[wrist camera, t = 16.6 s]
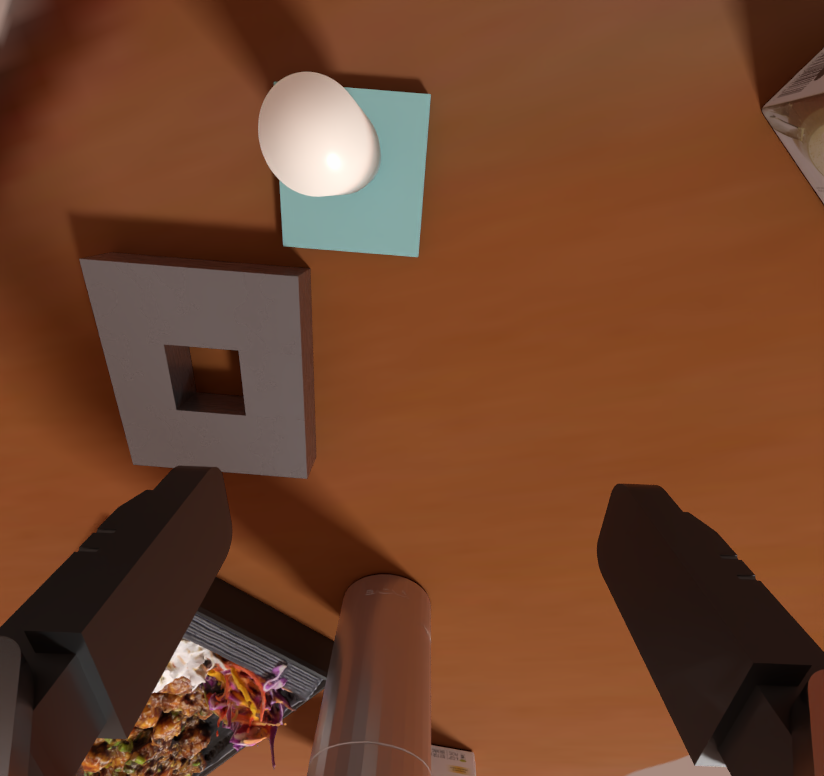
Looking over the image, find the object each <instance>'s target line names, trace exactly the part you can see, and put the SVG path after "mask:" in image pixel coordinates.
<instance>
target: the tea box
mask: <svg viewBox="0 0 824 776" xmlns="http://www.w3.org/2000/svg"><path fill="white" fill-rule="evenodd" d="M431 776H476V769H475V759H474V753H473V752H468V751H463V750H457V749H452V748H446V747H440V746H435V745H431Z"/></svg>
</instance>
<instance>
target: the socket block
mask: <svg viewBox="0 0 824 776" xmlns="http://www.w3.org/2000/svg"><path fill="white" fill-rule="evenodd" d="M79 260H80V264H81V268H82V271H83V275H84V279H85V283H86V287H87V290H88V294H89V298H90V302H91V306H92V309H93V313H94V317H95V321H96V325H97V328H98V332H99V336H100V340H101V344H102V347H103V351H104V355H105V359H106V363H107V366H108V370H109V374H110V378H111V382H112V385H113V389H114V393H115V397H116V401H117V404H118V408H119V412H120V416H121V420H122V423H123V427H124V431H125V435H126V439H127V442H128V446H129V450H130V454H131V458H132V461H133V465H144V466H157V467H169V468H175V467H176V466H206V467H218V468H219V469H220V470H221V472H231V473H243V474H255V475H268V476H280V477H292V478H305V479H307V478H308V476H309V473H310V471H311V468H312V466H313V464H314V461H315V459H316V435H315V403H314V372H313V340H312V309H311V278H310V268H299V267H287V266H274V265H262V264H250V263H237V262H225V261H212V260H200V259H188V258H175V257H163V256H151V255H138V254H126V253H114V252H110V253H105V254H101V255H96V256H91V257H86V258H81V259H79ZM189 347H201V348H214V349H226V350H238V351H239V360H240V369H241V377H242V386H243V395H244V396H235V395H222V394H210V393H198V392H196V386H195V380H194V374H193V368H192V363H191V357H190V351H189Z"/></svg>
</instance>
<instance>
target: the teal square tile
mask: <svg viewBox="0 0 824 776" xmlns="http://www.w3.org/2000/svg"><path fill="white" fill-rule="evenodd" d="M276 83H277V82H274V85H275V84H276ZM343 88H344V89H345V90H346V91H347V92H348V93H349V94H350V95H351V97H352V98H353V99H354V100H355V102H356V103H357V104H358V106H359V107H360V108H361V109H362V111H363V112H364V113H365V115H366V116H367V117H368V118H369V120H370V121H371V123H372V124H373V126H374V128H375V130H376V133H377V135H378V139H379V144H380V149H381V164H380V168H379V171H378V173H377V175H376V176H375V178H374V179H373V180H372V181H371V182H370V183H369V184H367V185H366V186H365V187H364V188H362V189H361V190H359V191H357V192H355V193H351V194H346V195H334V196H321V197H314V196H307V195H303V194H300V193H298V192H296V191H294V190H292V189H290V188H289V187H287V186H286V185H285V184H283V183H282V182H281V181H280V180H279V183H280V200H281V218H282V235H283V246H287V247H300V248H312V249H324V250H337V251H349V252H362V253H374V254H386V255H399V256H411V257H418V254H419V241H420V228H421V215H422V202H423V189H424V176H425V163H426V150H427V137H428V124H429V111H430V98H431V94H421V93H409V92H397V91H384V90H372V89H360V88H347V87H343Z"/></svg>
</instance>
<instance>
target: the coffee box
mask: <svg viewBox="0 0 824 776" xmlns="http://www.w3.org/2000/svg"><path fill="white" fill-rule="evenodd" d="M762 112H763V114H764V116H765V117H766V119H767V120H768V122H769V123H770V125H771V126H772V128H773V129H774V131H775V132H776V134H777V135H778V137H779V138H780V140H781V141H782V143H783V144H784V146H785V147H786V149H787V150H788V152H789V153H790V154H791V156H792V157H793V159H794V160H795V162H796V164H797V165H798V167H799V168H800V169H801V171H802V172H803V174H804V176H805V177H806V178H807V180H808V181H809V183H810V184H811V186H812V187H813V189H814V190H815V192H816V193H817V194H818V196H819V197H820V199H821V200H822V202H823V203H824V48H823V49H822V50H821V51H820V52H819V53H818V54H817V55H816V56H815V57H814V58H813V59H812V60H811V61H810V62H809V63H808V64H807V65H806V66H804V67H803V68H802V69H801V70H800V71H799V72H798V73H797V74H796V75H795V76H794V77H793V78H792V79H791V80H790V81H789V82H788V83H787V84H786V85H785V86H784V87H783V88H782V89H781V90H780V91H779V92H778V93H777V94H776V95H775V96H773V97H772V98H771V99H770V100H769V101H768V102H767V103H766V104H765V105H764V106H763V108H762Z"/></svg>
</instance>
